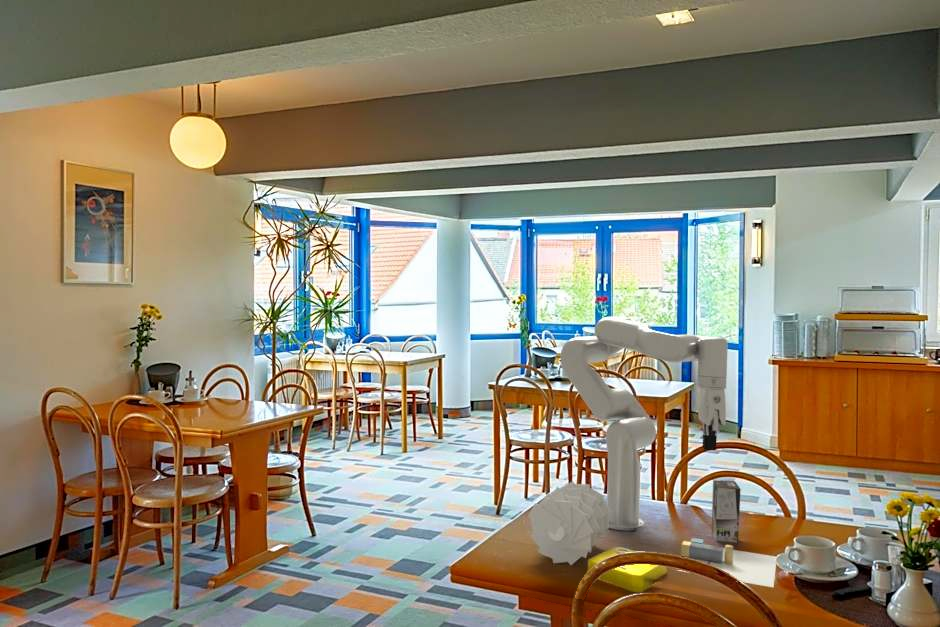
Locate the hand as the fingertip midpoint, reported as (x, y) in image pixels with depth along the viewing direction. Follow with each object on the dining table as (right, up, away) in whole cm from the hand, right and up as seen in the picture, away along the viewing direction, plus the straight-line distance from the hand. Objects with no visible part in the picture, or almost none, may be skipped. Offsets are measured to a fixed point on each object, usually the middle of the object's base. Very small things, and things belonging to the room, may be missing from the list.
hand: (709, 449), depth 201 cm
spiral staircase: (-39, -27, -6) cm, 48 cm away
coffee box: (+7, -27, +7) cm, 29 cm away
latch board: (0, -28, -14) cm, 31 cm away
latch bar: (-6, -26, -11) cm, 29 cm away
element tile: (-27, -28, -21) cm, 44 cm away
